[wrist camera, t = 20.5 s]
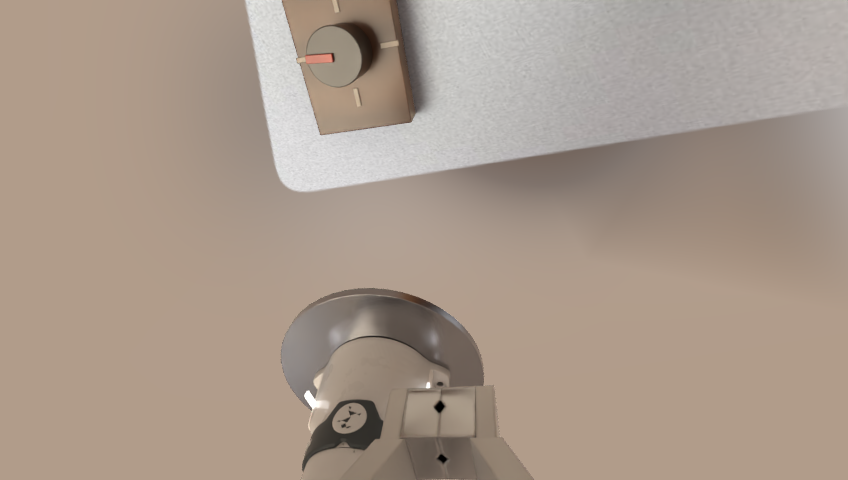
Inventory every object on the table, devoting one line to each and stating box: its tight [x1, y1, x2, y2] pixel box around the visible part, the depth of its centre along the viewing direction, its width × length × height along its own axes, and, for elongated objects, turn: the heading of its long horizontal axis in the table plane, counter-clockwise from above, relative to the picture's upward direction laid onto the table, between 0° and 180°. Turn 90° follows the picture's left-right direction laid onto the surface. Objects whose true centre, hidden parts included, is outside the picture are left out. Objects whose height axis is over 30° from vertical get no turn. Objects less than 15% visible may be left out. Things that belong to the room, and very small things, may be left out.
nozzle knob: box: [305, 23, 372, 87], centre depth 30 cm, size 4×4×4 cm
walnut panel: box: [282, 0, 416, 135], centre depth 33 cm, size 12×8×3 cm
